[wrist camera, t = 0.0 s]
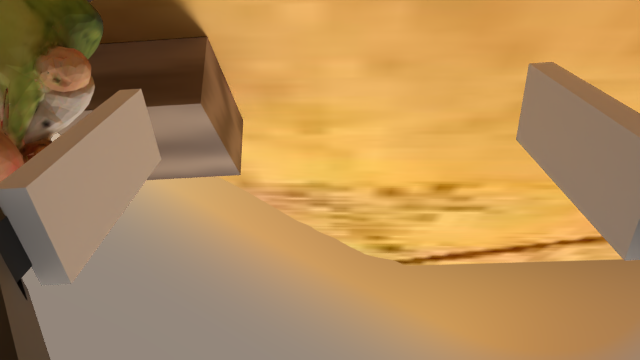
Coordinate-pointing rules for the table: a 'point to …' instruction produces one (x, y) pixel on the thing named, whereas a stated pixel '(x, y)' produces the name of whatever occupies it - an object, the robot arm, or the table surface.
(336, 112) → the table surface
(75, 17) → the figurine
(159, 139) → the pedestal
